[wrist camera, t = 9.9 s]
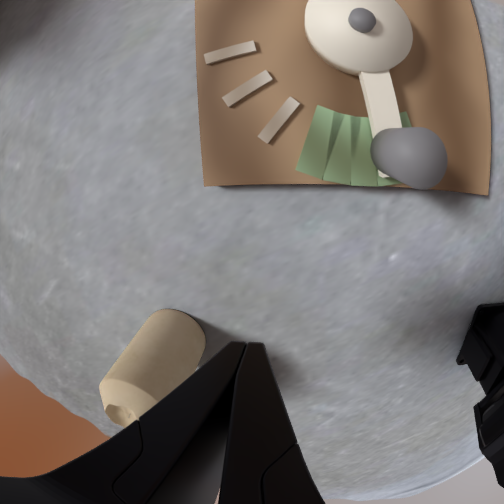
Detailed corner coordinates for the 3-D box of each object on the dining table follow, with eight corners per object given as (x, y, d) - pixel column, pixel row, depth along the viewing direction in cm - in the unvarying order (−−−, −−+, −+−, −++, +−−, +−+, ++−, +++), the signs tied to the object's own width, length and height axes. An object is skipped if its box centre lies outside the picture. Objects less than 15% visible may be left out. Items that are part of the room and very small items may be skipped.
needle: (292, -3, 12) (288, -49, 7) (385, -8, 10) (411, -48, 6) (340, 179, 16) (358, 198, 11) (432, 167, 14) (478, 183, 10)
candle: (206, 314, 22) (156, 412, 13) (207, 363, 25) (170, 454, 15) (144, 302, 23) (78, 383, 14) (152, 350, 25) (102, 429, 16)
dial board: (449, -35, 8) (456, -42, 7) (479, 191, 15) (490, 196, 14) (200, -52, 11) (194, -61, 10) (209, 183, 18) (202, 187, 17)
